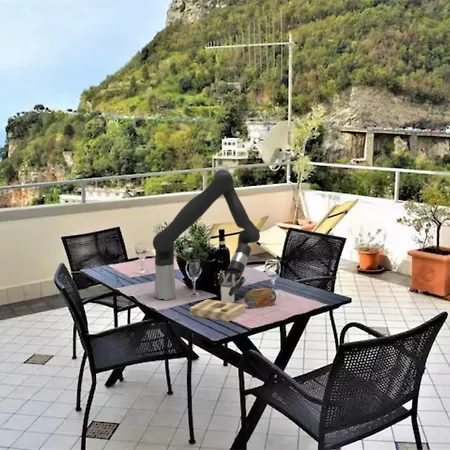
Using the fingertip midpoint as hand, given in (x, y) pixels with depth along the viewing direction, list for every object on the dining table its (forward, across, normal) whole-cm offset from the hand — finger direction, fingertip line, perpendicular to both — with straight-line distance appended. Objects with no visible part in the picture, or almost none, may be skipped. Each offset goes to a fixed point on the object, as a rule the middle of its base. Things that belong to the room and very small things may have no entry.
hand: (225, 294), depth 263 cm
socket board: (+12, +3, -5) cm, 14 cm away
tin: (0, +15, +8) cm, 17 cm away
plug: (+2, 0, +4) cm, 5 cm away
